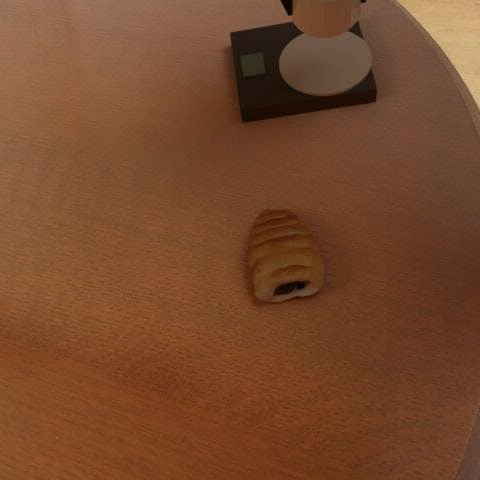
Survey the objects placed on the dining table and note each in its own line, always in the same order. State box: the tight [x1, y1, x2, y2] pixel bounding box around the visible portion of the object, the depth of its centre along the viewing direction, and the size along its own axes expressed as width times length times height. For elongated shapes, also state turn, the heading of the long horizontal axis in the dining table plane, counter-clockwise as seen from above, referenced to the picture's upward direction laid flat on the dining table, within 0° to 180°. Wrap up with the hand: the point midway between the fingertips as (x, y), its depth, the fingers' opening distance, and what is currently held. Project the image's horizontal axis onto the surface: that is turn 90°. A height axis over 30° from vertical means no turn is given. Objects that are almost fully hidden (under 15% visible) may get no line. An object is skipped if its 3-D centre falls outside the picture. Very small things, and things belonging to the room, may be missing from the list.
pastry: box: [246, 208, 327, 304], centre depth 68 cm, size 9×7×4 cm
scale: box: [229, 20, 378, 123], centre depth 81 cm, size 14×12×2 cm
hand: (325, 6), depth 71 cm, fingers closed on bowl, 6 cm apart
